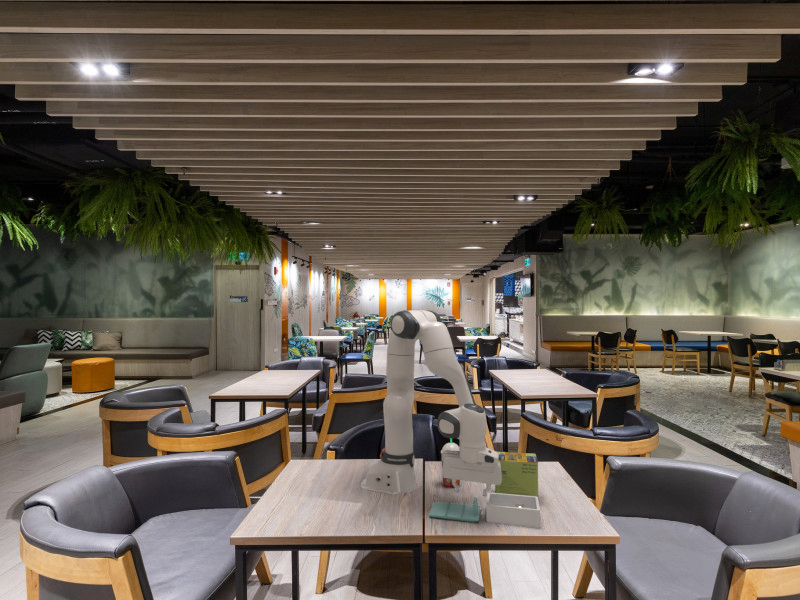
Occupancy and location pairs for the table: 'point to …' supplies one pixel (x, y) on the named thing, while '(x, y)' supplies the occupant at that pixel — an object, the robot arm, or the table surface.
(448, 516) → the lid
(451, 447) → the smoothie
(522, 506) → the ball
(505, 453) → the protein box
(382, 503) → the table surface
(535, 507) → the tub
